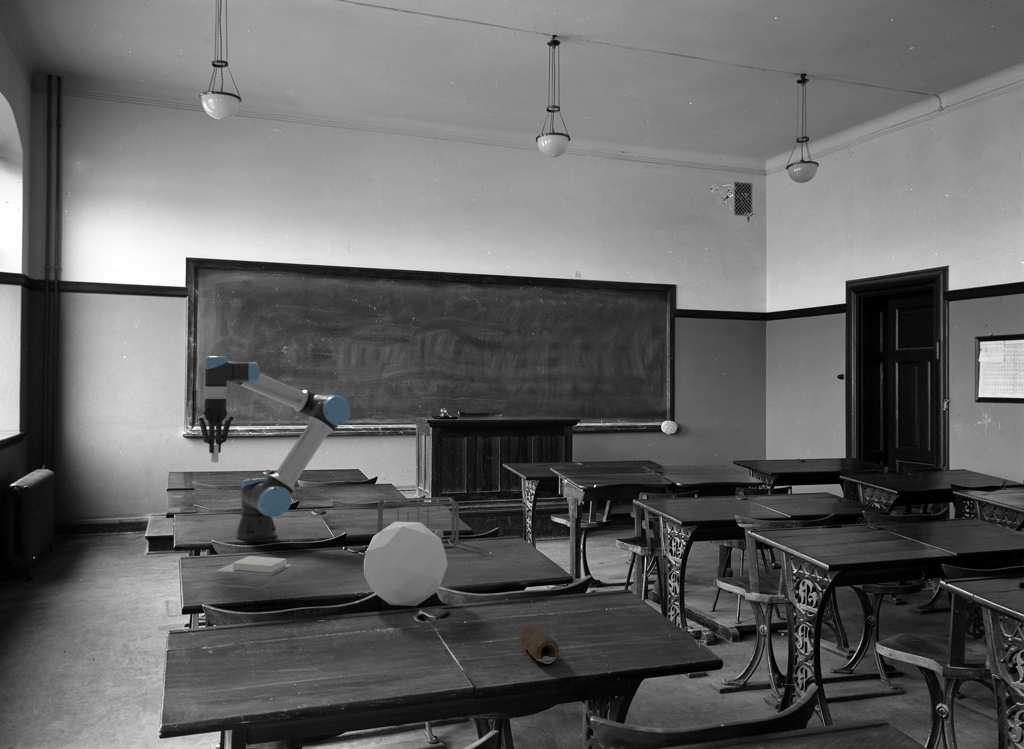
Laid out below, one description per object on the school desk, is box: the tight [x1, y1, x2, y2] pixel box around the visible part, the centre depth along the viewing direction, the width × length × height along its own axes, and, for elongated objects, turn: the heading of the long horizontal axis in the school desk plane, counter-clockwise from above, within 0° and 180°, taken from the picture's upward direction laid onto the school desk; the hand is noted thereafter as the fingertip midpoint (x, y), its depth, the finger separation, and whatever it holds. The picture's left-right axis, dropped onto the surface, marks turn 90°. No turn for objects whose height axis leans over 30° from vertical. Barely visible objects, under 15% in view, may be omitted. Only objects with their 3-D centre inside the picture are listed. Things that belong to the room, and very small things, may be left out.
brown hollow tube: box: [518, 624, 560, 659], centre depth 193 cm, size 15×7×7 cm, turn 21°
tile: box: [232, 555, 287, 573], centre depth 268 cm, size 2×10×14 cm
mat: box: [215, 563, 292, 577], centre depth 268 cm, size 20×14×1 cm
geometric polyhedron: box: [363, 521, 448, 607], centre depth 233 cm, size 24×25×25 cm
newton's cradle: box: [377, 496, 460, 548], centre depth 306 cm, size 30×10×18 cm, turn 104°
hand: (214, 461), depth 294 cm, fingers closed
